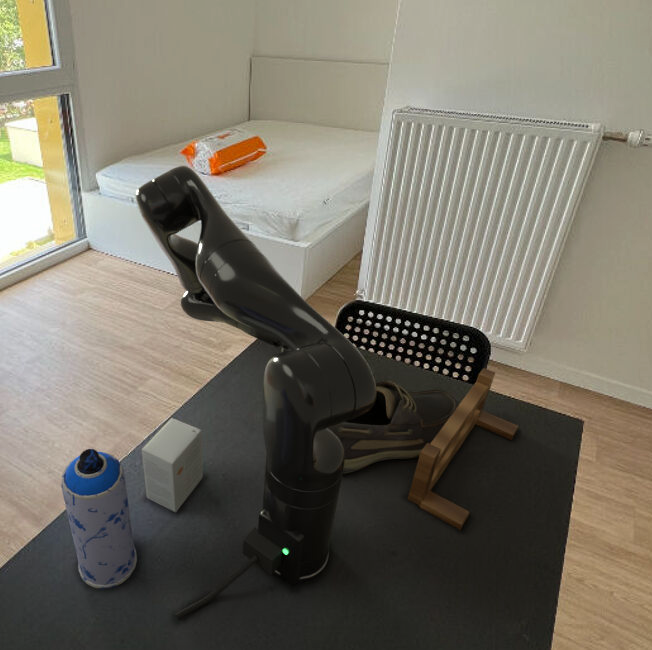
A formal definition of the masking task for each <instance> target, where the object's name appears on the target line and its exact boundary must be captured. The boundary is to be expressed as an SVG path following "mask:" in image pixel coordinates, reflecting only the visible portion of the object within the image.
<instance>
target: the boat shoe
mask: <svg viewBox="0 0 652 650" xmlns="http://www.w3.org/2000/svg"><path fill="white" fill-rule="evenodd" d="M375 382H376V388H377V396H376V401H375V403H374V405H373V407H372V408H371V409H370V410H369V411H368V412H366V413H364V414H363V415H361V416H358V417H356V418H354V419H351V420H348V421H346V422H343V423H341V424H338V425H335V426H332V427H330V428H328V429H330V430H331V431H332V432H334V433H335V434H336V435H337V437H338V438H339V439H340V440H341V442H342V444H343V447H344V450H345V461H344V468H343V473H342V475H344V474H349V473H353V472H356V471H359V470H362V469H363V468H366V467H367V466H369V465H371V464H374V463H377V462H380V461H381V462H382V461H388V460H399V459H401V460H406V459H407V460H408V459H414V458H419V456H420V453H421V451H422V449H423V448H424V447H425V445H426V444H427V443H429V444H431V442H432V441H433V440H434V438H435V437H436V435H437V434H438V433H439V431H440V430H441V429H442V427H443V426H444V425H445V423H446V422H447V421H448V419H449V418H450V417H451V415H452V414H453V413H454V411H455V410H456V409H457V407H458V406H459V403H458V400H456V398H455V397H454V396H453V395H452V394H451V393H450V392H448V391H447V390H443V389H427V390H418V391H407V390H406V389H404V388H403V387H402V386H400V385H399V384H397V383H395V382H393V381H390V380H379V381H375Z"/></svg>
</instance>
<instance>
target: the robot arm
mask: <svg viewBox="0 0 652 650" xmlns="http://www.w3.org/2000/svg"><path fill="white" fill-rule="evenodd" d="M135 202H136V206H137V209H138V211H139V213H140V215H141V217H142V220H143V221H144V223H145V225H146V226H147V229H148V230H149V231H150V233H151V235H152V237H153V238H154V240H155V241H156V243H157V244H158V247H160V249H161V250H162V252H163V253H164V255H165V256H166V258H167V259H168V260H169V261H170V264H171V265H172V267H173V269H174V271H175V274H176V276H177V278H178V281H179V283H180V286H181V287H182V288H183V289H184V291H185V292H184V293H183V294H182V296H181V298H180V301H179V302H180V307H181V310H182V312H184V314H186V315H187V316H188V317H190V318H192V319H194V320H198V321H204V322H214V323H221V324H227V325H229V326H231V327H234V328H236V329H238V330H240V331H242V332H243V333H245V334H247V335H249V336H250V337H253V338H255V339H257V340H260V341H262V342H264V343H265V344H268V345H271V346H273V347H276V348H279V347H281V350H280V352H279V353H277V354H275V355H273V356H271V358H269V360H268V362H267V363H266V366H265V369H264V372H263V380H262V381H263V382H262V389H263V390H262V395H263V396H262V397H263V398H262V399H263V401H262V402H263V403H262V405H263V409H262V410H263V414H262V415H263V419H262V420H263V423H262V425H263V426H262V427H263V429H262V431H263V439H264V444H265V450H266V455H265V470H264V484H263V496H262V497H263V498H262V499H263V501H262V510H261V511H260V512H259V514H258V524H257V527H253V528H252V529H251V530H250V532H249V533H247V535H246V536H244V537H243V539H242V555H244V556H245V557H246V558H247V559H248V561H246V562H245V563H244V564H243V565H242V566H240V567H239V568H238V569H237V570H236V571H235V572H234V573H232V574H231V575H230V576H229V577H228V578H226V579H225V580H224V581H223V582H222V583H221V584H220V585H219V586H217V588H215V589H214V590H213V591H211V592H210V593H208V594H207V595H206V596H204V597H202V598H201V599H199V600H198V601H196V602H194V603H192V604H191V605H189V606H186V607H185V608H183V609H181V610H179V611H177V612H176V613H175V614H174V615H175V618H176V620H180V619H181V618H183V617H185V616H187V615H189V614H191V613H192V612H194V611H196V610H198V609H200V608H201V607H203V606H204V605H207V603H209V602H210V601H212V600H214V599H215V598H216V597H217V596H219V595H220V594H221V593H222V592H224V590H226V588H228V587H229V586H230V585H231V584H232V583H233V582H234V581H236V580H237V579H238V578H240V576H242V575H243V574H244V573H245V572H246V571H248V570H249V569H250V568H251V567H253V565H254V564H255V565H257V566H258V567H259V568H261V570H263V571H264V572H266V573H267V574H269V575H270V576H273V575H275V576H277V577H279V578H280V579H281V580H282V581H283V582H285V583H286V584H288V585H289V586H290V587H292V588H294V587H296V586H297V584H298V583H300V582H306V581H307V582H308V581H311V580H313V579H315V578H317V577H318V576H319V575H321V573H323V572H324V570H325V568H326V567H327V564H328V561H329V556H330V545H331V541H332V535H333V530H334V529H333V528H334V524H335V519H336V518H335V517H336V511H337V506H338V502H339V501H338V499H339V495H340V490H341V484H342V479H343V474H342V473H343V468H344V461H345V450H344V447H343V444H342V442H341V440H340V439H339V438H338V437H337V435H336V434H335V433H334V432H332V431H331V430H330V429H328V428H330V427H332V426H335V425H338V424H341V423H343V422H346V421H348V420H351V419H354V418H356V417H358V416H361V415H363V414H364V413H366V412H368V411H369V410H370V409H371V408H372V407H373V405H374V403H375V401H376V396H377V388H376V382H377V381H376V379H375V375H374V373H373V371H372V369H371V367H370V365H369V363H368V362H367V360H366V358H365V357H364V356H363V354H362V352H360V350H359V349H358V348H357V347H356V345H354V344H353V343H352V341H351V340H349V338H347V336H345V335H344V334H343V333H342V332H341V331H340V330H338V329H337V328H336V327H335V326H334V325H333V324H332V323H330V322H329V321H328V320H327V318H325V317H324V316H322V314H321V313H319V312H318V311H317V310H316V309H315V308H314V307H312V306H311V304H309V302H308V301H306V300H305V299H304V298H303V297H302V296H301V295H300V294H299V292H297V291H296V289H294V287H292V285H291V284H290V283H289V282H288V281H287V280H286V279H285V278H284V276H282V275H281V273H280V272H279V271H278V270H277V269H276V267H275V266H274V265H273V264H272V262H271V261H270V260H269V259H268V257H266V255H265V254H264V253H263V252H262V251H261V249H259V248H258V247H259V246H257V245H256V244H255V243H254V242H253V241H252V240H251V239H250V238H249V237H248V235H246V234H245V232H244V231H243V230H241V228H240V227H239V226H238V225H237V224H236V223H235V221H234V220H232V219H231V217H230V216H229V215H228V214H227V213H226V211H225V210H224V208H223V207H222V206H221V204H220V203H219V202H218V200H217V199H216V197H215V196H214V195H213V193H212V192H211V191H210V189H209V187H208V186H207V184H205V182H204V181H203V180H202V179H201V177H200V176H199V175H198V173H197V172H196V171H194V169H192V168H191V167H189V166H187V165H179V166H176V167H174V168H171V169H169V170H167V171H165V172H164V173H162V174H160V175H158V176H156V177H155V178H153V179H151V180H148V182H145V183H144V184H142V185H141V186H139V187H138V188H137V190H136V191H135ZM198 222H200V231H199V237H198V241H197V242H196V241H193V240H191V239H189V238H185V237H182V236H180V235H177V234H178V233H180V232H181V231H183V230H185V229H187V228H189V227H190V226H192V225H194V224H196V223H198Z"/></svg>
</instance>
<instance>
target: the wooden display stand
mask: <svg viewBox="0 0 652 650" xmlns="http://www.w3.org/2000/svg"><path fill="white" fill-rule="evenodd" d="M495 376H496V371H492V370H490V369H488V368H485V367H483V368H482V369H481V370H480V372H479V373H478V376H477V378H476V382H475V383H474V384H473V386H472V387H471V388H470V389H469V391H468V392H467V394H466V395H465V397H464V398H463V399H462V400H461V402H460V403H459V404H458V407H457V409H456V410H455V411H454V413H453V414H452V415H451V417H450V418H449V419H448V421H447V422H446V423H445V425H444V426H443V427H442V429H441V430H440V431H439V433H438V434H437V435H436V437H435V438H434V440H433V441H432V442H431V444H429V443H427V444H426V445H425V447H424V448H423V449H422V451H421V453H420V456H418V460H417V463H416V468H415V471H414V474H413V478H412V481H411V485H410V489H409V493H408V496H407V500H408V501H410V502H412V503H414V504H415V505H418V506H419V508H420V509H421V510H424V511H425V512H427V513H429V514H430V515H432V516H434V517H436V518H438V519H439V520H442V521H443V522H445V523H447V524H449V525H450V526H452V527H453V528H456V529H457V530H459V531H460V530H461V529H462V528H463V526H464V524H465V523H466V521H467V519H468V517H469V514H470V511H469V510H467V509H465V508H463V507H461V506H460V505H457V504H456V503H454V502H452V501H451V500H448V499H446V498H445V497H443V496H440V495H439V494H437V493H435V492H433V491H432V489H433V488H434V486H435V485H436V484H437V482H438V480H439V479H440V477H441V476H442V474H443V473H444V472H445V470H446V468H447V467H448V466H449V464H450V463H451V461H452V459H453V458H454V457H455V455H456V454H457V453H458V451H459V449H460V448H461V446H462V445H463V444H464V442H465V440H466V439H467V437H468V436H469V435H470V433H471V431H472V430H473V428H474V427H475V425H476V426H479V427H481V428H483V429H485V430H487V431H489V432H492V433H494V434H497V435H498V436H501V437H503V438H504V439H505V438H506V439H508V440H510V441H512V440H513V438H514V437H515V434H516V433H517V431H518V429H519V425H518V424H515V423H512V422H510V421H507V420H505V419H504V418H500V417H498V416H496V415H493V414H491V413H489V412H486V411H485V410H484V408H485V404H486V401H487V399H488V396H489V393H490V390H491V387H492V385H493V382H494V379H495Z"/></svg>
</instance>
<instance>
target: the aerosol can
mask: <svg viewBox="0 0 652 650" xmlns="http://www.w3.org/2000/svg"><path fill="white" fill-rule="evenodd" d="M122 465H123V464H121V462H120V459H118V458H117V457H115V456H114V455H112V454H110V453H107V452H103V451H97V450H96V449H94V448H88V449H84V450H83V451H82V452H81V453H80V455H78V456H77V457H75V458H74V459H72V460H71V461H70V462H69V463H68V465H67V466H66V467H65V468H64V470H63V472H62V475H61V484H60V485H61V487H60V488H61V492H62V496H63V501H64V505H65V509H66V514H67V518H68V523H69V527H70V531H71V535H72V540H73V545H74V550H75V553H76V558H77V563H78V565H77V566H78V568H77V570H78V572H79V575H80V578H81V579H82V580H83V582H84V583H86V585H88V586H90V587H92V588H94V589H101V590H102V589H104V590H105V589H111V588H115V587H117V586H119V585H121V584H123V583H124V582H126V581H127V580H128V579H129V578H130V577H131V575H132V574H133V572H134V570H135V568H136V565H137V562H138V557H137V550H136V547H135V544H134V536H133V530H132V529H133V528H132V522H131V521H132V520H131V514H130V507H129V506H130V505H129V499H128V491H127V484H126V476H125V469H124V467H123V466H122Z"/></svg>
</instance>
